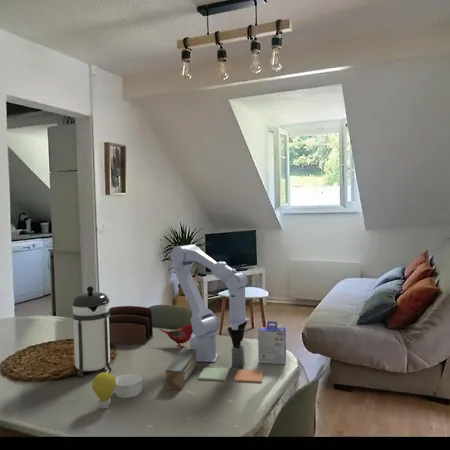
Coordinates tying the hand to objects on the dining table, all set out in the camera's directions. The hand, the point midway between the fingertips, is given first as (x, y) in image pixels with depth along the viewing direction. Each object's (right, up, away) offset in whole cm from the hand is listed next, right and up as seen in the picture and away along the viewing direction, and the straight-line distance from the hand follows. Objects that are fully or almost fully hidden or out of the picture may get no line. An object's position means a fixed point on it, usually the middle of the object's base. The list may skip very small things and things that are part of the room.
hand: (238, 344), depth 154 cm
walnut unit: (-19, -9, -8) cm, 23 cm away
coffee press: (-53, -9, 0) cm, 53 cm away
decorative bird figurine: (-24, -8, +23) cm, 34 cm away
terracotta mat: (+3, -8, -9) cm, 13 cm away
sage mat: (-8, -9, -7) cm, 14 cm away
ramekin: (-35, -10, -20) cm, 41 cm away
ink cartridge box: (+13, -8, +4) cm, 16 cm away
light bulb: (-40, -10, -29) cm, 50 cm away
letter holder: (-47, -8, +33) cm, 58 cm away
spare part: (0, -8, 0) cm, 8 cm away
